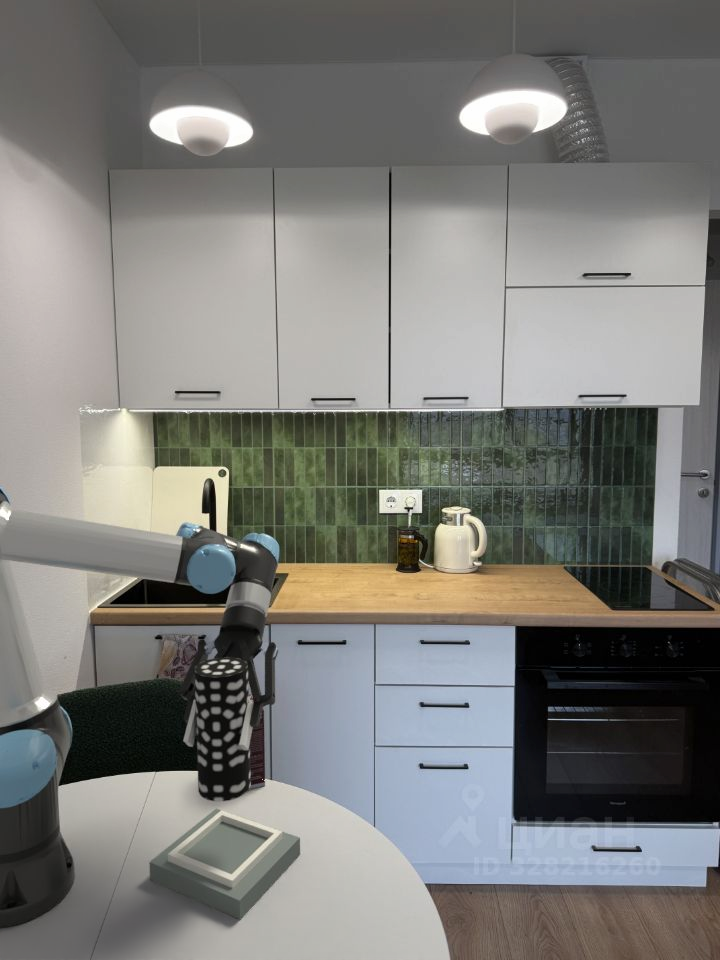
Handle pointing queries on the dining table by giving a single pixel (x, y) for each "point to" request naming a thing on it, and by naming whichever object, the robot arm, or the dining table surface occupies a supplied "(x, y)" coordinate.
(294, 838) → the tray
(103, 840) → the dining table surface
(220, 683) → the black polka dot cylinder
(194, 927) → the dining table surface
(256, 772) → the supplement box
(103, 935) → the dining table surface
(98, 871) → the dining table surface
